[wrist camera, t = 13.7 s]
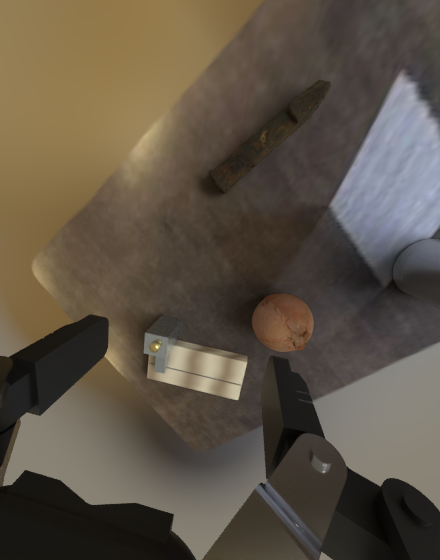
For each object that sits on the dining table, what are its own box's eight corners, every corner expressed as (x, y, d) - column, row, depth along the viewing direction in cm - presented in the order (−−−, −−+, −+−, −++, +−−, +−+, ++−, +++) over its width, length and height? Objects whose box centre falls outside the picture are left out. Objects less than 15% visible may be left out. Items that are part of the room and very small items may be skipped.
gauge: (181, 319, 42) (166, 340, 34) (176, 362, 45) (161, 390, 37) (161, 314, 42) (142, 335, 35) (157, 357, 45) (139, 385, 37)
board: (247, 355, 42) (247, 362, 40) (238, 392, 44) (238, 400, 42) (154, 334, 43) (150, 340, 41) (151, 371, 46) (146, 378, 44)
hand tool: (224, 197, 35) (220, 194, 31) (210, 175, 34) (204, 169, 30) (334, 113, 30) (348, 95, 26) (320, 86, 30) (332, 63, 25)
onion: (296, 308, 41) (335, 343, 33) (255, 336, 41) (284, 378, 32) (279, 272, 36) (321, 301, 28) (233, 303, 36) (261, 342, 28)
